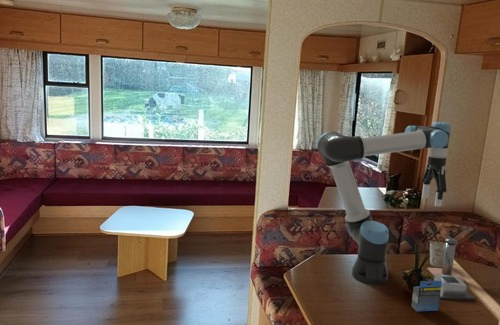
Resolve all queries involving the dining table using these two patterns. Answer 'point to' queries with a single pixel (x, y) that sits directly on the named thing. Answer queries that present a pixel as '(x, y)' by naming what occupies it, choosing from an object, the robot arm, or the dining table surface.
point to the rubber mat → (439, 271)
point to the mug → (437, 253)
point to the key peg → (449, 256)
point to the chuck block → (452, 288)
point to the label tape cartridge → (426, 296)
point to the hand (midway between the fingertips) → (431, 201)
